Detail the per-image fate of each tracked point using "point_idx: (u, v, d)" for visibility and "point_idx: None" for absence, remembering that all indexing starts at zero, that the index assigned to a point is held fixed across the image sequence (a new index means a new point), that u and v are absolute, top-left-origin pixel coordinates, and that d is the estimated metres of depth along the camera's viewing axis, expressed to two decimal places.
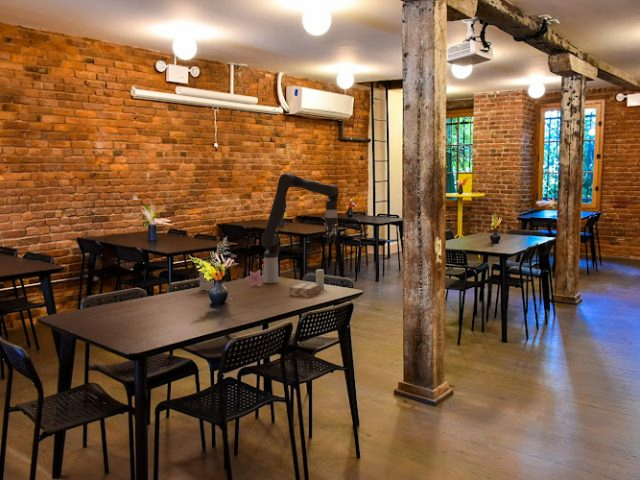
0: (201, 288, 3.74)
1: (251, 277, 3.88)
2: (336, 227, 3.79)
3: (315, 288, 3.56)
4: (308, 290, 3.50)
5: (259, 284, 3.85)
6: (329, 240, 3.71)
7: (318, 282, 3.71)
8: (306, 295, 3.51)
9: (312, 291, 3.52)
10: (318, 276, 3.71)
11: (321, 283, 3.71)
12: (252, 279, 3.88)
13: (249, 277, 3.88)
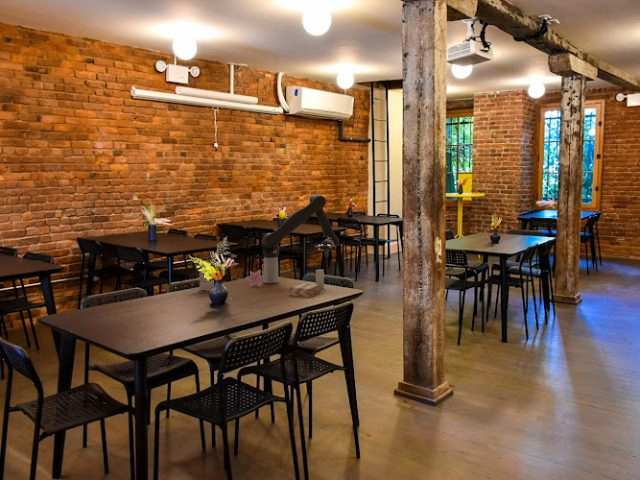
0: (201, 288, 3.74)
1: (251, 277, 3.88)
2: None
3: (315, 288, 3.56)
4: (308, 290, 3.50)
5: (259, 284, 3.85)
6: None
7: (318, 282, 3.71)
8: (306, 295, 3.51)
9: (312, 291, 3.52)
10: (318, 276, 3.71)
11: (321, 283, 3.71)
12: (252, 279, 3.88)
13: (249, 277, 3.87)
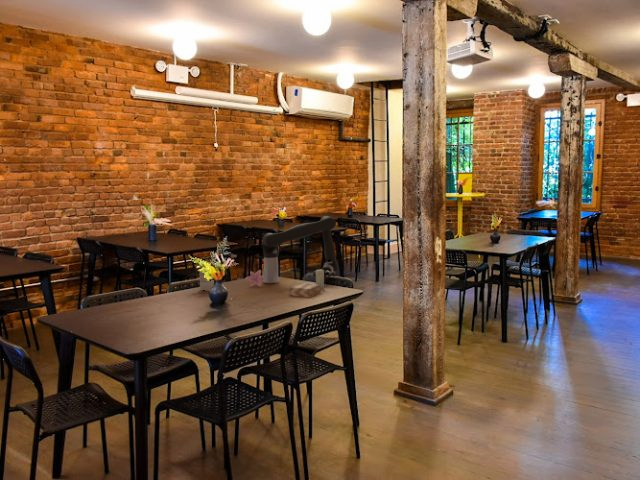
0: (201, 288, 3.74)
1: (251, 277, 3.88)
2: None
3: (315, 288, 3.56)
4: (308, 290, 3.50)
5: (259, 284, 3.85)
6: None
7: (318, 282, 3.71)
8: (306, 295, 3.51)
9: (312, 291, 3.52)
10: (318, 276, 3.71)
11: (321, 283, 3.71)
12: (252, 279, 3.88)
13: (250, 277, 3.87)
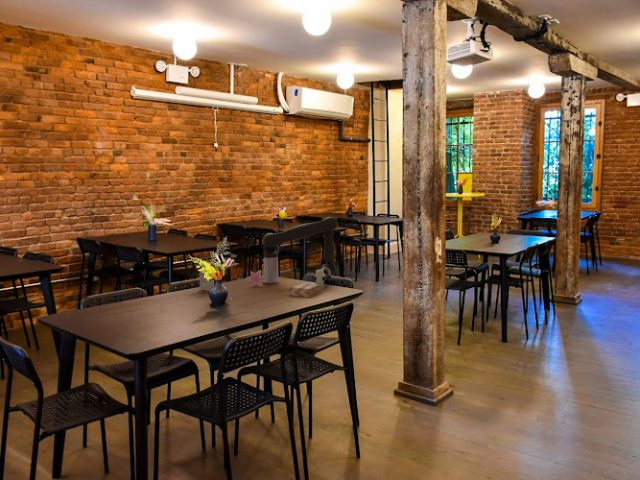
0: (201, 288, 3.74)
1: (252, 277, 3.87)
2: None
3: (315, 288, 3.56)
4: (308, 290, 3.50)
5: (260, 284, 3.85)
6: (324, 279, 3.71)
7: (318, 282, 3.71)
8: (306, 295, 3.51)
9: (312, 291, 3.52)
10: (318, 276, 3.71)
11: (321, 283, 3.71)
12: (253, 279, 3.87)
13: (250, 278, 3.87)
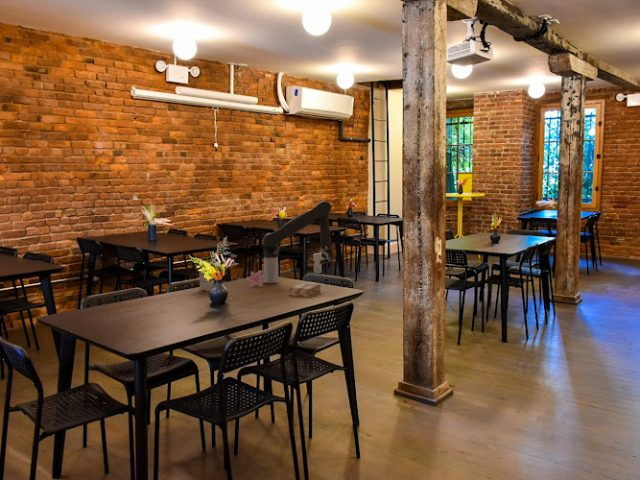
0: (201, 288, 3.74)
1: (252, 277, 3.87)
2: None
3: (315, 288, 3.56)
4: (308, 290, 3.50)
5: (260, 284, 3.84)
6: (322, 263, 3.68)
7: (315, 265, 3.68)
8: (306, 295, 3.51)
9: (312, 291, 3.52)
10: (316, 259, 3.67)
11: (319, 267, 3.68)
12: (253, 279, 3.87)
13: (250, 278, 3.86)
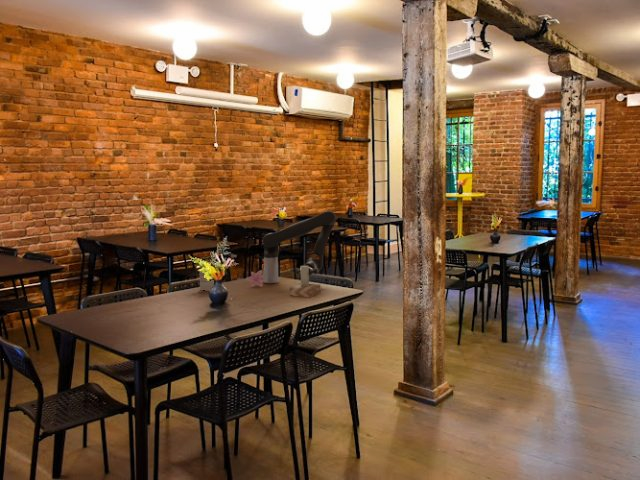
0: (201, 288, 3.74)
1: (252, 277, 3.87)
2: None
3: (315, 288, 3.56)
4: (308, 290, 3.50)
5: (261, 284, 3.84)
6: (311, 273, 3.56)
7: (302, 278, 3.56)
8: (306, 295, 3.51)
9: (312, 291, 3.52)
10: (303, 272, 3.56)
11: (306, 280, 3.56)
12: (253, 279, 3.86)
13: (251, 278, 3.86)
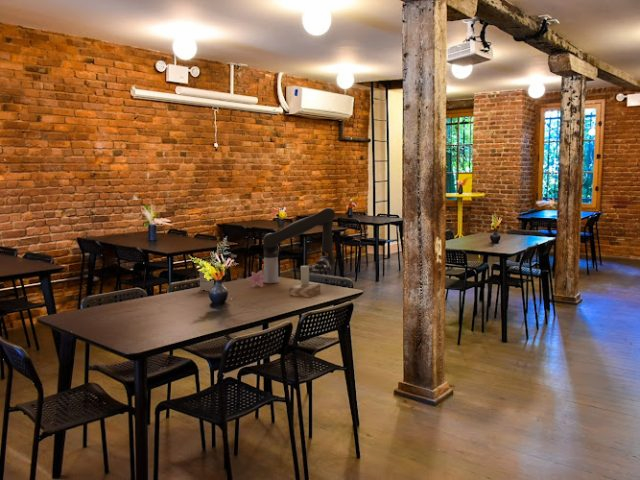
0: (201, 288, 3.74)
1: (253, 278, 3.86)
2: None
3: (315, 288, 3.56)
4: (308, 290, 3.50)
5: (261, 285, 3.84)
6: (325, 270, 3.66)
7: (303, 279, 3.56)
8: (306, 295, 3.51)
9: (312, 291, 3.52)
10: (303, 272, 3.55)
11: (306, 280, 3.56)
12: (254, 280, 3.86)
13: (251, 278, 3.85)
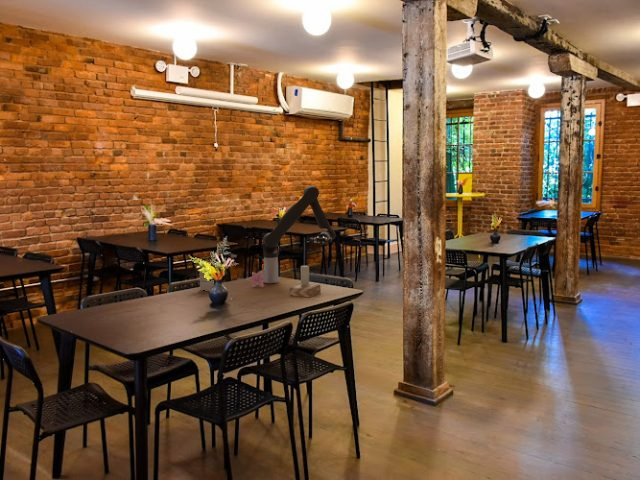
0: (201, 288, 3.74)
1: (253, 278, 3.86)
2: None
3: (315, 288, 3.56)
4: (308, 290, 3.50)
5: (262, 285, 3.83)
6: (326, 242, 3.73)
7: (303, 279, 3.56)
8: (306, 295, 3.51)
9: (312, 291, 3.52)
10: (303, 272, 3.55)
11: (306, 280, 3.56)
12: (254, 280, 3.86)
13: (252, 278, 3.85)
